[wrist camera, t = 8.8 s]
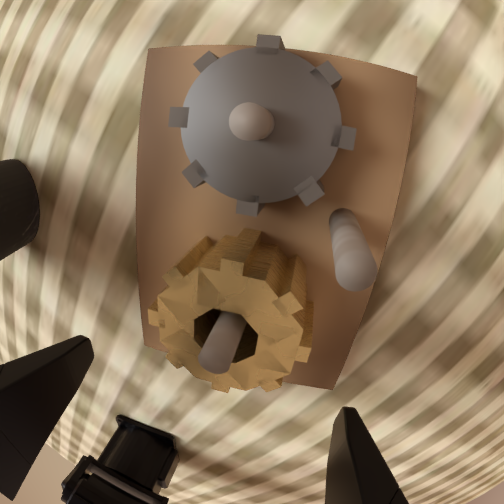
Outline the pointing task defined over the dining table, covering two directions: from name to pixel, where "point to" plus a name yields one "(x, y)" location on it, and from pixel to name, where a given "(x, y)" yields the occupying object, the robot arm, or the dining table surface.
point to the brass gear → (237, 309)
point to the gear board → (272, 177)
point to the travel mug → (16, 207)
